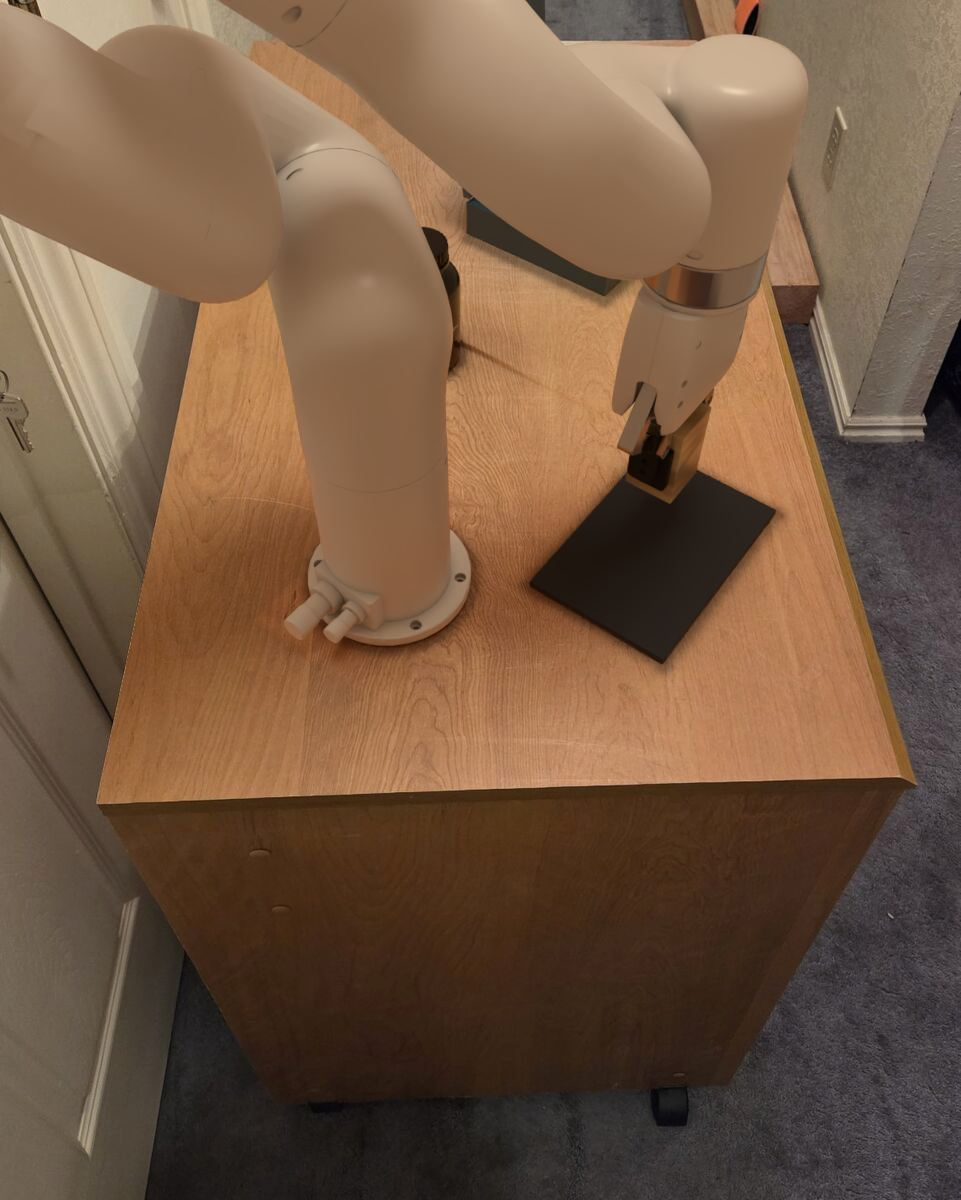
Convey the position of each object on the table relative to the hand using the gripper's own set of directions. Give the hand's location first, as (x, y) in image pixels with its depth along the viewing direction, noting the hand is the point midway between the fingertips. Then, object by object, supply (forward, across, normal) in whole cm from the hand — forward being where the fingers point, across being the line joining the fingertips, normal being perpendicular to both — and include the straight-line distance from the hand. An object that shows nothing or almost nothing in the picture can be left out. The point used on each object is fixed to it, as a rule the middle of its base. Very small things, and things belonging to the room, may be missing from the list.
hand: (663, 460), depth 79 cm
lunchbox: (+7, -28, -26) cm, 39 cm away
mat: (+7, +2, +2) cm, 8 cm away
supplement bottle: (+7, -5, -27) cm, 29 cm away
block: (+2, 0, 0) cm, 2 cm away
